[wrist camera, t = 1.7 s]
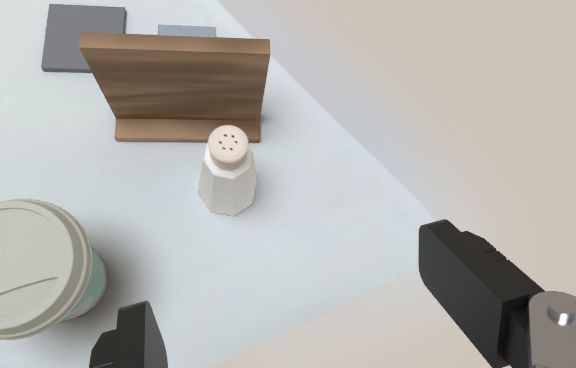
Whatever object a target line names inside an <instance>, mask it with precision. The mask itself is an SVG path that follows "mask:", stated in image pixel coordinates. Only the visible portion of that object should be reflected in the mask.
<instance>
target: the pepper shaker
mask: <svg viewBox="0 0 576 368" xmlns="http://www.w3.org/2000/svg"><path fill="white" fill-rule="evenodd" d="M256 184H257V180H256V172H255V164H254V156H253V152H252V150H251V149H250V147H249V142H248V138H247V136H246V134H245V133H244V131H242V130H241V129H240V128H238V127H236V126H232V125H224V126H220V127H218V128H216V129H215V130H214V131H213V132H212V133H211V134H210V136H209V139H208V143H207V146H206V150H205V154H204V159H203V163H202V169H201V176H200V182H199V189H198V194H199V196H200V197H201V199H202V200H203V201H204V203H205V204H206V206H207V207H208V209H209V210H210V212H214V213H220V214H225V215H231V216H234V215H236V214H238V213H239V212H241V211H242V210H244V209H245V208H247V207H248V206H250V205H251V204H253V199H254V194H255V189H256Z"/></svg>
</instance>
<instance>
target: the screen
mask: <svg viewBox="0 0 576 368" xmlns="http://www.w3.org/2000/svg"><path fill="white" fill-rule="evenodd" d="M79 48H80V50H81V52H82V54H83V56H84V58H85V60H86V62H87V64H88V66H89V67H90V69H91V71H92V73H93V75H94V77H95V79H96V81H97V83H98V85H99V87H100V89H101V90H102V92H103V94H104V96H105V98H106V100H107V102H108V104H109V106H110V108H111V110H112V111H113V113H114V115H115V117H116V128H115V139H116V141H141V142H208V139H209V136H210V134H211V133H212V132H213V131H214V130H215V129H216V128H218V127H220V126H224V125H232V126H236V127H238V128H240V129H241V130H242V131H244V133H245V134H246V136H247V138H248V142H259V141H260V127H259V119H260V113H261V107H262V101H263V95H264V89H265V83H266V77H267V71H268V64H269V58H270V40H269V39H244V38H218V37H193V36H167V35H141V34H115V33H90V32H81V33H80V42H79Z"/></svg>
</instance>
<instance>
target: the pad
mask: <svg viewBox="0 0 576 368" xmlns="http://www.w3.org/2000/svg"><path fill="white" fill-rule="evenodd" d="M125 16H126V10H125V7H104V6H82V5H61V4H49V11H48V19H47V27H46V35H45V43H44V51H43V58H42V66H41V68H42V69H43V71H55V72H91V73H92V71H91V69H90V67H89V66H88V64H87V62H86V60H85V58H84V56H83V54H82V52H81V50H80V48H79V42H80V33H81V32H90V33H115V34H124V31H125Z"/></svg>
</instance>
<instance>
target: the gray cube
mask: <svg viewBox="0 0 576 368" xmlns="http://www.w3.org/2000/svg"><path fill="white" fill-rule="evenodd" d="M158 35H167V36H193V37H216V27H201V26H177V25H158Z"/></svg>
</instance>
